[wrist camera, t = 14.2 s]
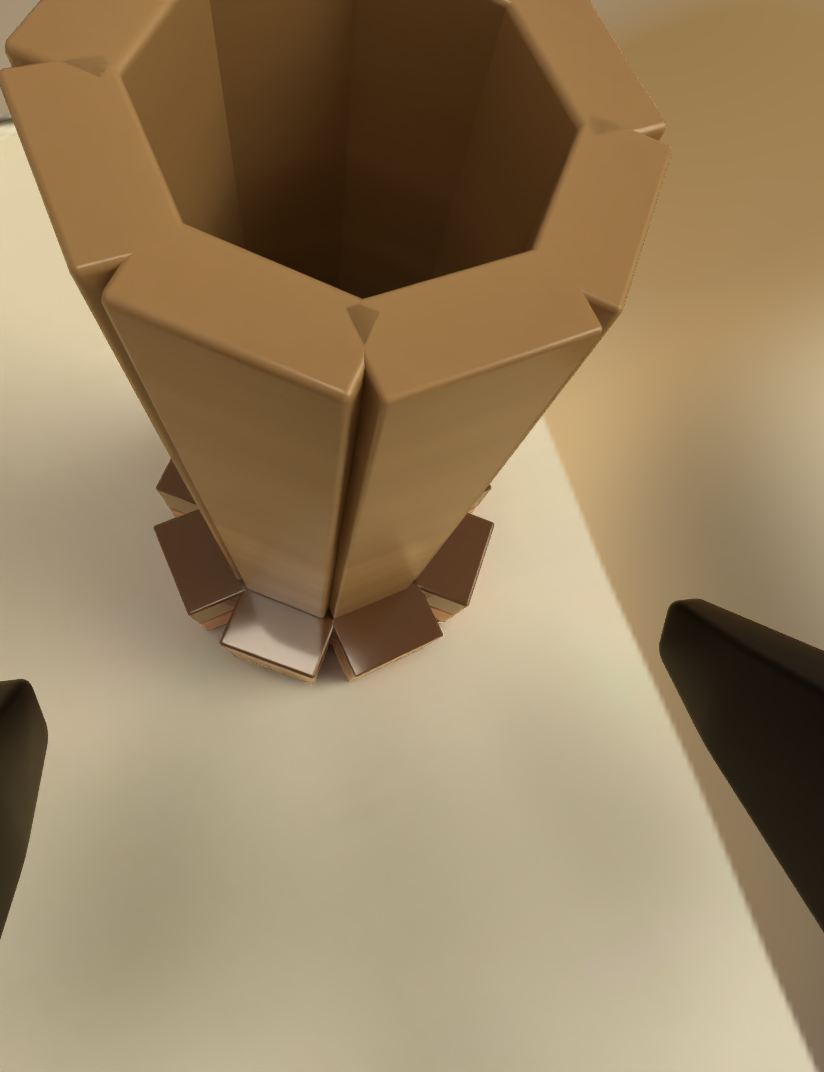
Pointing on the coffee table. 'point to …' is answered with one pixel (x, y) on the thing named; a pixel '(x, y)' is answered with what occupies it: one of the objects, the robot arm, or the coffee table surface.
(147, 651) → the coffee table surface
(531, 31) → the tall ring
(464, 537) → the ring stack
